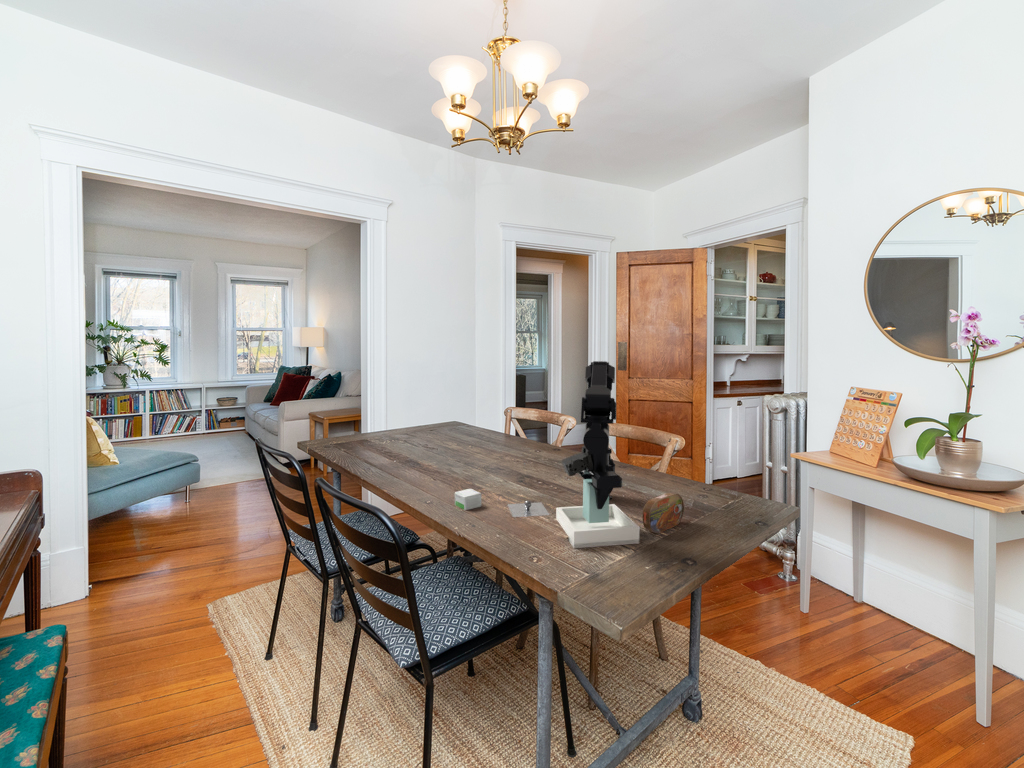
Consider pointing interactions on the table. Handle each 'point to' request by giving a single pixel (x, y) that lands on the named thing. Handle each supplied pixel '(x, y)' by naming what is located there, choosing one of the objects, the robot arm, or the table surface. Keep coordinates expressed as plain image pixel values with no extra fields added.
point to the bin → (597, 528)
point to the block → (593, 505)
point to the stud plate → (527, 509)
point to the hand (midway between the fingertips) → (595, 505)
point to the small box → (468, 499)
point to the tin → (663, 512)
